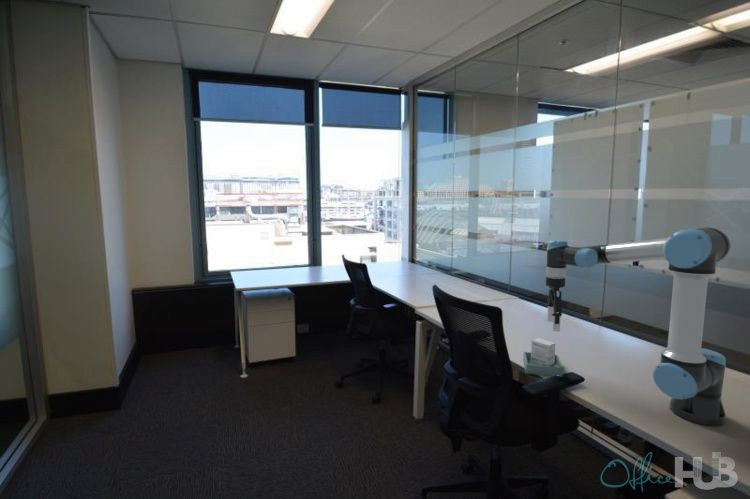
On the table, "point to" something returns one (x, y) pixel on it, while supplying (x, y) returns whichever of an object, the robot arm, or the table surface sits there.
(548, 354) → the ink box
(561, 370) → the bin
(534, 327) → the table surface
